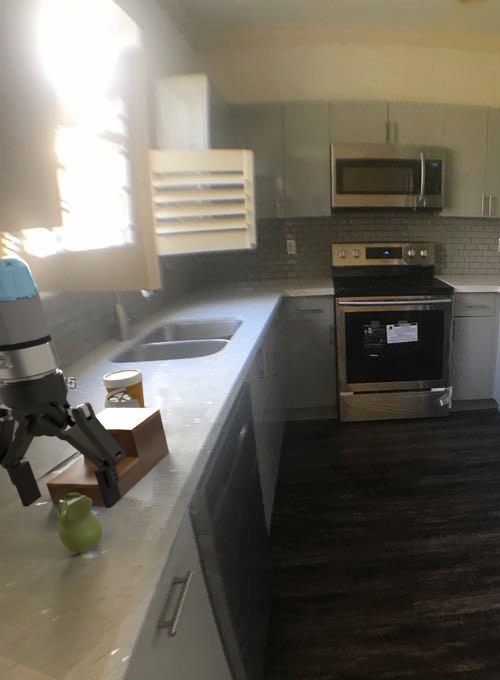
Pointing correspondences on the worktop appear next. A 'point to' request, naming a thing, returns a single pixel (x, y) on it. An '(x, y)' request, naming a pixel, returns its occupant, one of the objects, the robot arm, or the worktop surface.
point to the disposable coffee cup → (126, 383)
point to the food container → (120, 400)
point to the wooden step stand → (141, 457)
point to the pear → (78, 523)
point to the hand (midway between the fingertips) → (72, 502)
